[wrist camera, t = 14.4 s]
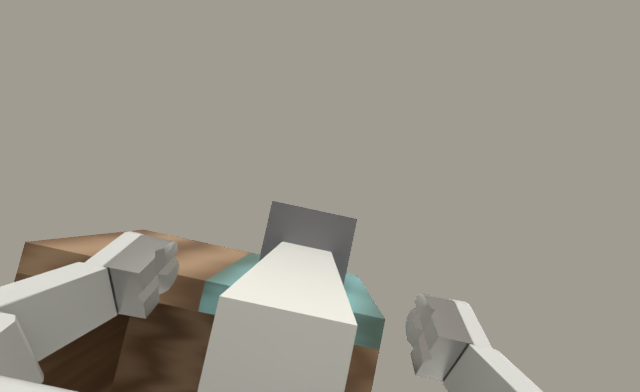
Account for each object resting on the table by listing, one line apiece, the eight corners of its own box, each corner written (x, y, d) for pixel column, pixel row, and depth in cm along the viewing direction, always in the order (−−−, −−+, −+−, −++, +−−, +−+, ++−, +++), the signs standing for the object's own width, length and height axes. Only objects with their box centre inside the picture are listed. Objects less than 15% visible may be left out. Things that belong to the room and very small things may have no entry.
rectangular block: (141, 392, 7) (192, 181, 8) (269, 260, 27) (282, 203, 28) (388, 445, 7) (428, 232, 8) (336, 275, 27) (348, 217, 28)
